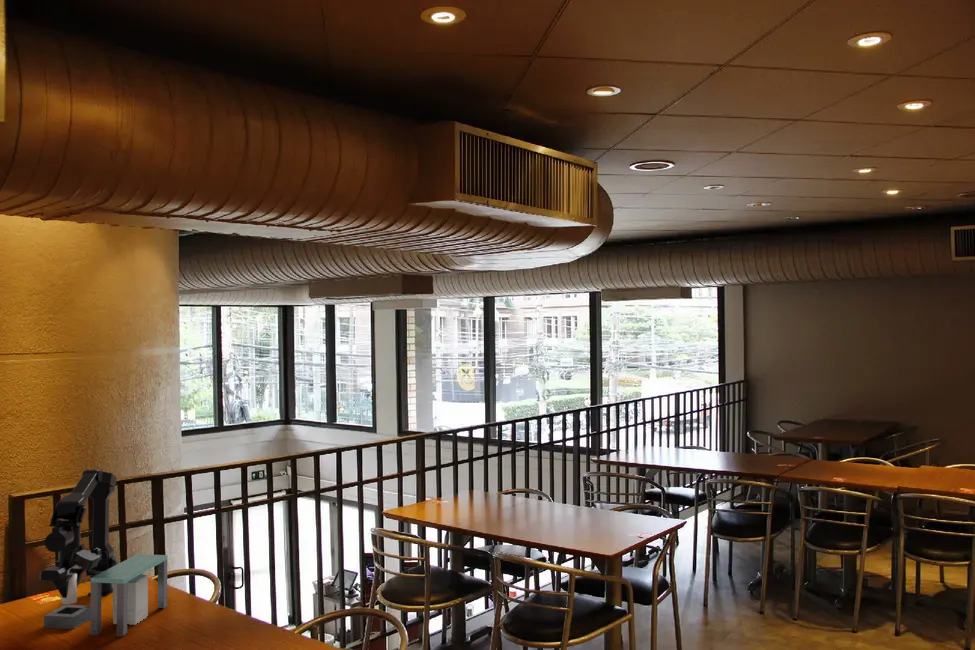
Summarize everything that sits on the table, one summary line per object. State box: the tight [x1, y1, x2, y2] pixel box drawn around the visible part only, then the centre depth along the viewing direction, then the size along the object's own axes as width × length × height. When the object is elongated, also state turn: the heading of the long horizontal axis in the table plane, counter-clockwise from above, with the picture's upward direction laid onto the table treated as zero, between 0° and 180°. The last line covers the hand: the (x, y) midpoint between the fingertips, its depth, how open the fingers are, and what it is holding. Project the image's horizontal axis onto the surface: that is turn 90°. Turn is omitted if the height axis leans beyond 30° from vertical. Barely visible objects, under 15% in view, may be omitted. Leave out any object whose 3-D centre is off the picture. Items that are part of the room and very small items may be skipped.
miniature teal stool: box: [89, 553, 169, 637], centre depth 236 cm, size 24×10×16 cm, turn 174°
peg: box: [61, 573, 78, 605], centre depth 234 cm, size 4×4×8 cm
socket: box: [43, 604, 91, 630], centre depth 233 cm, size 9×9×4 cm
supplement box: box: [112, 574, 149, 626], centre depth 236 cm, size 7×7×13 cm
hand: (69, 595), depth 234 cm, fingers closed on peg, 4 cm apart
